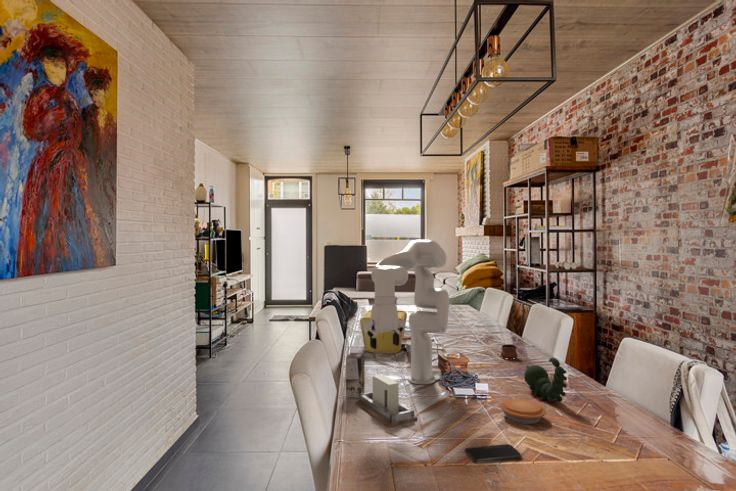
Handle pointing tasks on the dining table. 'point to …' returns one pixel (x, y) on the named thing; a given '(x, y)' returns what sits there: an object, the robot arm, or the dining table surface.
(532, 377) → the toy figurine
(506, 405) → the pie
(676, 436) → the dining table surface
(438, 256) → the robot arm
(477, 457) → the phone
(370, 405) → the grey rectangular tray
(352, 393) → the coffee box
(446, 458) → the dining table surface
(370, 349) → the picnic basket
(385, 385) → the pale green block
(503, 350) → the ceramic pot
